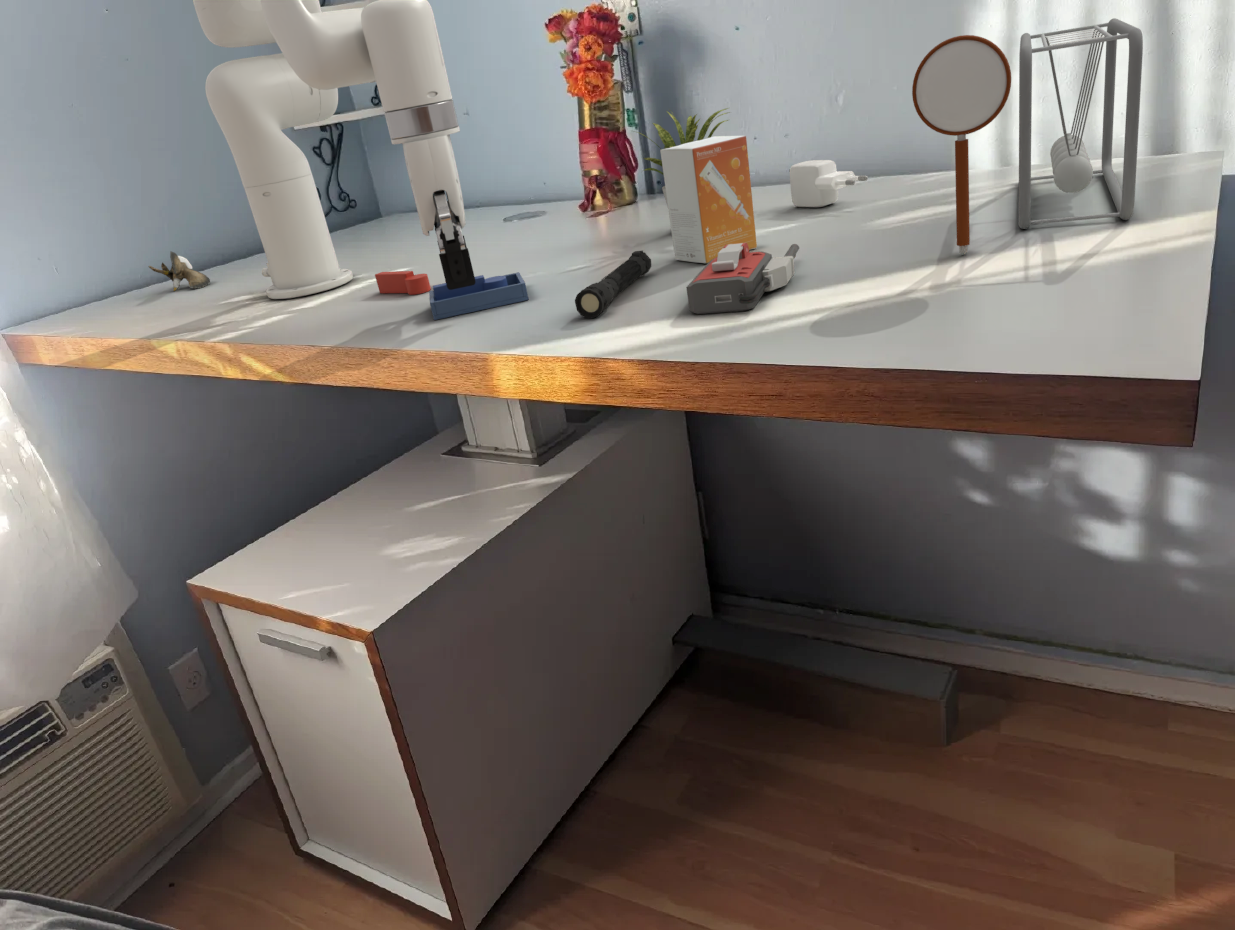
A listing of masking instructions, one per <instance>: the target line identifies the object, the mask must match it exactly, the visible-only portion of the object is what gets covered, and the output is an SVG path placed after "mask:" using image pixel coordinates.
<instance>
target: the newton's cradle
mask: <svg viewBox="0 0 1235 930" xmlns="http://www.w3.org/2000/svg"><path fill="white" fill-rule="evenodd" d="M1103 28H1106V30H1105V29H1103ZM1034 39H1041V43H1042V46H1041V47H1035V48H1033V46H1032V40H1034ZM1124 39H1127V40H1128V66H1127V84H1126V85H1127V86H1126V105H1125V106H1126V107H1125V125H1124V147H1123V148H1124V149H1123V165H1122V166H1123V167H1122V186H1121V185H1120V183H1119V181H1118V178H1117V176H1116V174H1115V172H1114V169H1113V137H1114V118H1115V117H1114V116H1115V115H1114V113H1115V111H1114V110H1115V94H1116V93H1115V92H1116V91H1115V90H1116V72H1117V71H1116V68H1117V67H1116V66H1117V49H1118V48H1117V46H1118V40H1124ZM1019 41H1020V42H1019V53H1018V54H1019V55H1018V57H1019V58H1018V59H1019V60H1018V61H1019V65H1018V66H1019V67H1018V69H1019V70H1018V78H1019V79H1018V84H1019V85H1018V227H1019V228H1020V229H1021V230H1027V229H1028V228H1029V227H1031V226H1032V225H1040V224H1041V225H1042V224H1043V225H1044V224H1053V223H1063V222H1074V221H1084V220H1085V221H1086V220H1087V221H1088V220H1097V219H1107V218H1120V220H1123V221H1128V220H1130V219H1131V218H1132V217H1133V214H1134V211H1135V199H1136V182H1137V165H1138V164H1137V163H1138V146H1139V128H1140V127H1139V126H1140V109H1141V108H1140V107H1141V91H1142V90H1141V89H1142V73H1143V72H1142V71H1143V54H1144V53H1143V52H1144V39H1143V31H1142V30H1141V29H1140V28H1139V27H1136V26H1134V25H1132V24H1130V23H1127V22H1125V21H1123V20H1121V19H1118V18H1115V17H1114V18H1111V19H1110V20H1109V21H1108V22H1104V23H1098V24H1092V25H1086V26H1080V27H1075V28H1068V29H1061V30H1055V31H1050V32H1044V33H1043V32H1042V33H1036V34H1032V35H1031V33H1028V32H1024V33H1023V34H1021V36H1020V40H1019ZM1104 43H1105V61H1104V62H1105V65H1104V85H1103V86H1104V87H1103V88H1104V89H1103V111H1102V112H1103V113H1102V137H1101V138H1102V139H1101V144H1102V145H1101V169H1098V170H1094V167H1093V164H1092V163H1091V160H1090V158H1089V154H1088V152H1087V148H1086V144H1085V142H1084V141H1083V140H1082V139H1083V136H1084V132H1085V127H1086V123H1087V117H1088V114H1089V109H1090V105H1091V100H1092V97H1093V93H1094V92H1093V91H1094V88H1095V83H1096V78H1097V74H1098V70H1099V64H1100V61H1101V57H1102V52H1103V49H1104V48H1103V47H1104ZM1086 45H1090V46H1089V50H1088V54H1087V58H1086V64H1085V67H1084V72H1083V77H1082V81H1081V86H1080V91H1079V94H1078V100H1077V103H1076V108H1075V112H1074V117H1073V122H1072V126H1071V131H1070V132H1067V128H1066V122H1065V115H1064V112H1063V107H1062V106H1063V105H1062V100H1061V95H1060V91H1059V90H1060V88H1059V83H1058V78H1057V73H1056V68H1055V62H1054V56H1053V51H1054V50H1061V49H1067V48H1073V47H1080V46H1086ZM1041 52H1048V55H1049V62H1050V67H1051V72H1052V79H1053V83H1054V89H1055V95H1056V99H1057V106H1058V111H1059V117H1060V121H1061V128H1062V132H1063V136H1061V137H1059V138H1057V139H1056V140H1055V141H1054V142H1053V144H1052V145H1051V148H1050V152H1049V155H1050V162H1051V168H1052V174H1051V175H1041V176H1033V177H1032V114H1033V113H1032V110H1033V109H1032V108H1033V105H1032V104H1033V103H1032V100H1033V96H1032V95H1033V54H1035V53H1041ZM1097 174H1102V176H1103V178H1104V181H1105V183H1106V186H1107V188H1108V191H1109V193H1110V196H1111V198H1112V201H1113V203H1114V206H1115V208H1116V211H1117V212H1112V213H1101V214H1088V215H1079V216H1066V217H1055V218H1045V219H1033V220H1031V215H1032V213H1031V212H1032V211H1031V209H1032V207H1031V204H1032V203H1031V201H1032V196H1031V195H1032V181H1041V180H1053V182H1054V185H1055V186H1056V187H1057V188H1058V189H1059V190H1060V191H1061V192H1064V193H1067V194H1073V193H1074V194H1075V193H1078V192H1080V191H1082V190H1084V189H1086V188H1087V187H1088V185H1089V184H1090V183H1091V181H1092V179H1093V176H1094V175H1097Z"/></svg>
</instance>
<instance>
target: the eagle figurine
mask: <svg viewBox="0 0 1235 930" xmlns="http://www.w3.org/2000/svg"><path fill="white" fill-rule="evenodd" d="M169 257H170V263H171V267H170V269H169V268H168V266H167V265H166V264H165V263H164V262H163V261H162V262H161V264H160V265H161V266H160V268H161V269H159V268H156V267H154V266H152V265H148V268H149V269H150V270H151V271H153V272H155V273H158V274H162V275H164V276H166V277H167V278H169V279H170V280H171V282H172V283H173V284H172V285H173V292H176V290H177V289H178V288H179V287H181V286H180V285H181V282H182V281H183V280H184V279H185V280H186V281H187V282H188V286H189V288H190V289H201V288H204V287H206V286H208V285H210V283H211V279H210V278H209V277H208V276H207V275H206V274H204V273H202V272H200V271H197V270H194V269H193V265H192V264H191V263H190V261H189V260H188V258H186V257H184V256H182V255H178V254H177V253H176V252H173V251H171V250H170V253H169Z"/></svg>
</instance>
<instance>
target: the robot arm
mask: <svg viewBox="0 0 1235 930" xmlns="http://www.w3.org/2000/svg"><path fill="white" fill-rule="evenodd" d="M192 2H193V3H192V4H193V7H194V10H195V13H196V16H197V20H198V22H199V25H200V28H201V30H202V32H203V34H204V35H205V37H206V38H207V39H208V41H209V42H210V43H211V44H213V45H215V46H218V47H220V48H221V47H222V48H229V49H230V48H233V49H234V48H246V47H255V46H261V45H268V44H277V46H278V48H279V49H280V51H281V52H280V53H274V54H264V55H257V56H249V57H242V58H236V59H232V60H228V61H225V62H222V63H220V64H218V65H216V66H215V67H213V68H212V69H211V71H210V72H209V73H208V75H207V76H206V80H205V84H204V87H205V89H204V90H205V97H206V99H207V102H208V105H209V108H210V109H211V113H212V114H213V116H214V118H215V120H216V122H217V124H218V126H219V128H220V130H221V132H222V134H223V136H224V138H225V140H226V143H227V144H228V147H229V149H230V153H231V154H232V158H233V159H234V162H235V166H236V169H237V172H238V174H239V177H240V180H241V183H242V187H243V189H244V192H245V195H246V198H247V202H248V205H249V207H250V210H251V213H252V216H253V220H254V223H255V227H256V230H257V232H258V235H259V238H260V241H261V245H262V248H263V250H264V254H265V257H266V260H267V262H266V267H263V268H262V269H261V275H262V276H263V277H265V278H270V279H271V283H272V285H270V286H269V287H267V288H266V290H265V292H266V295H267V298H269V299H272V300H284V299H285V300H286V299H294V298H300V297H305V296H310V295H314V294H317V293H322V292H325V291H328V290H332V289H335V288H338V287H340V286H343V285H345V284H348V283H349V282H351V281H352V280H353V278H354V275H353V271H352V270H351V269H348V268H340V264H339V261H338V257H337V254H336V251H335V248H334V247H335V246H334V244H333V239H332V237H331V233H330V230H329V227H328V223H327V220H326V216H325V212H324V210H323V206H322V202H321V200H320V197H319V193H318V189H317V185H316V182H315V178H314V176H313V172H312V170H311V166H310V163H309V161H308V159H307V156H306V155H305V153H304V152H303V150H301V148H300V147H299V146H297V144H296V143H295V142H293V141H292V139H290V138H289V137H288V136H287V134H285V133H284V132H283V131H282V130H287V129H289V128H295V127H300V126H304V125H310V124H314V123H319V122H323V121H326V120H328V119H330V118H331V117H332V116H334V114H335V113H336V112H337V108H338V105H339V90H338V89H340V88H346V87H352V86H357V85H358V86H359V85H363V84H364V85H365V84H369V83H370V84H373V83H376V87H377V89H378V95H379V99H380V102H381V106H382V110H383V114H384V119H385V122H386V126H387V130H388V134H389V137H390V142H391V145H393V146H394V145H402V149H403V156H404V162H405V166H406V171H407V175H408V179H409V183H410V188H411V191H412V195H413V199H414V203H415V207H416V211H417V215H418V219H419V224H420V227H421V231H422V234H423V235H424V236H426V237H429V236H430V232H432V231H435V234H436V235H435V236H436V238H437V245H438V249H439V254H438V256H439V260H440V264H441V269H442V273H443V277H444V280H445V283H446V285H447V288H448V289H449V290H453V289H458V288H462V287H467V286H472V285H474V284H475V282H476V281H475V277H476V276H475V273H474V269H473V265H472V261H471V256H470V251H469V248H468V247H467V243H466V239H465V235H464V234H463V232H462V231H463V229H464V228H465V227H466V224H467V222H466V214H465V205H464V198H463V192H462V191H463V190H462V185H461V180H460V176H459V171H458V166H457V162H456V157H455V152H454V148H453V144H452V143H453V142H452V139H451V135H454V134H457V133H460V132H461V128H460V126H459V125H460V124H459V120H458V116H457V111H456V108H455V107H456V106H455V103H454V100H453V94H452V90H451V85H450V81H449V77H448V72H447V67H446V64H445V63H446V62H445V58H444V53H443V50H442V45H441V40H440V37H439V32H438V27H437V22H436V18H435V15H434V11H433V8H432V5H431V4H430V2H429V1H428V0H375V1H373V2H369V3H368V4H366V5H364V6H363V7H355V8H345V9H338V10H328V11H322V8H321V3H320V0H192Z"/></svg>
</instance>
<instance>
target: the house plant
mask: <svg viewBox="0 0 1235 930" xmlns="http://www.w3.org/2000/svg"><path fill="white" fill-rule="evenodd" d="M728 109H729V107H727V108H723V109H720V110H717V111H715V112H714V113H712V114H711V115H710V116H709V117H708V118H707V119H706V120H705V122H704V123H703V125H702V127H701V128H700V130H699V133H698V136H697V139H696V141H698V140H703V139H705V137H706V135H707V132H708V130H709V127H710V126H711V124H712V123H713V121H714V120H716V119H717V118H719V117H721V116H723V115H727V114H730V113H731V111H729V112H724V113H721V112H723V111H726V110H728ZM668 110H669V111H670V112H671V113H670V112H669V111H667V114H668V115H669V116H670V117H671V118H672V120H673V122H674V123H675V126H676V129H677V133H678V137H679V141H680V142H679V143H680V145H681V144H685V143H689V142H694V141H695V138H696V131H697V129H698V127H699V126H698V125H699V124H698V123H699V121H700V119H701V118H698V120H697V121H695V120H696V117H697V114H695V115H693V116H692V115H689V116H688V118H687V119H686V129H685V133H684V130H683V127H682V125H681V124H680V122H679V120H678V119H677V118H676V116H675V115H674V113H673V112H672V110H671V109H670V108H669V107H668ZM720 113H721V114H720ZM718 114H719V115H718ZM728 121H729V119H726V120H722V121H719V122H718V123H716V125H714V127H713V128H712V129H711V131H710V132H709V134H708V136H707V138H710V137H713V135H714V133H715V131H716V130H717V129H718V127H720V125H722V124H723V123H725V122H728ZM652 125H653V126H654V128H656V131H657V133H658V136H659V138H660V141H661V143H663V145H664V147H663V148H662V147H660V146H659V145H658V144H657V143H656V142H655V141H654V140H652V139H651V138H650V137H648V136H646V135H645V134H643V133H641V132H638V131H633V130H632V132H633V133H634V132H635V133H638V134H640V135H641V136H643V137H646V138H647V139H649V140H650V141H651V142H652V143H653V144H654V145H656V146H657V147H658V148H659V149H660V150H662V149H666V148H670V147H675V146H677V145H676V142H675V140H674V138H673V137H672V135H671V133H670V132H669V131H668V130H666V129H665V128H663V127H662V126H661V125H660V124H658V123H654V122H652ZM642 159H644V160H646V161H650V162H651V163H653V164H655V165H658V166H660V167H662V168H663V166H662V159H661V158H660V159H659V158H655V157H644V158H642ZM643 171H653V172H657V173H659V174H661V175H662V176H664V174H663V171H661V170H659V169H657V168H654V167H647V168H645V169H643V170H642V172H643ZM661 190H662V193H663V196H664V200H665V203H666V206H667V208H668V203H667V195H666V188H665V185H663V186H662V187H661Z"/></svg>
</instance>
